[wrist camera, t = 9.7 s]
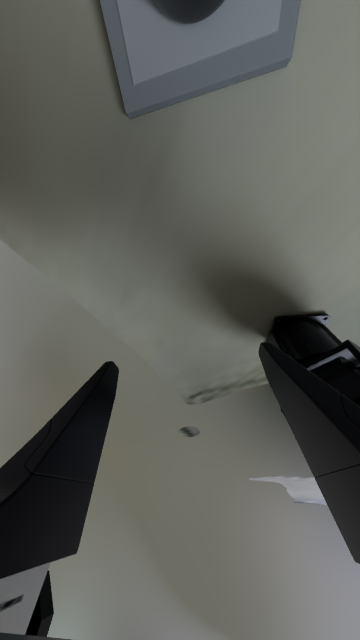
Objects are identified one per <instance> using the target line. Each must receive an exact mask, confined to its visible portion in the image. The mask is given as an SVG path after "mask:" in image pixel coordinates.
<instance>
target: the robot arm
mask: <svg viewBox="0 0 360 640" xmlns="http://www.w3.org/2000/svg"><path fill="white" fill-rule="evenodd" d="M329 319H330V316H329V315H328V314H314V315H296V316H279V317H276V318H275V319H274V323H273V327H272V330H271V331H270V333H269V337H268V341H267V342H262V343H261V344H260V347H259V357H260V360H261V362H262V365H263V368H264V371H265V374H266V377H267V379H268V382H269V384H270V386H271V388H272V390H273V392H274V394H275V397H276V398H277V401H278V403H279V405H280V407H281V411H282V413H283V414H284V416H285V417H286V419H287V421H288V424H289V426H290V428H291V430H292V432H293V434H294V435H295V438H296V440H297V442H298V444H299V446H300V448H301V451H302V453H303V455H304V457H305V459H306V461H307V463H308V465H309V467H310V469H311V471H312V473H313V475H314V477H315V480H316V482H317V484H318V486H319V488H320V490H321V492H322V494H323V496H324V499H325V501H326V503H327V505H328V507H329V509H330V511H331V513H332V515H333V517H334V519H335V521H336V524H337V525H338V528H339V530H340V532H341V534H342V536H343V538H344V540H345V542H346V544H347V546H348V548H349V551H350V553H351V555H352V556H353V558H354V560H355V562H357V563H359V564H360V347H359V346H357V345H356V344H354V343H353V342H351V341H349V340H346V341H344V342H343V343H342V342H341V341H340V340H339V339H338V338H337V337H336V336H335V335H334V334H333V333H332V332H331V331H330V330H329V329H328V328H327V327H326V325H327V323H328V321H329ZM278 320H279V321H278ZM118 374H119V369H118V367H117V366H116V365H115V363H114V362H113V361H108V362H105V363H104V364H103V365H102V366H101V367H100V369H98V370H97V371H96V373H95V374H94V375H93V376H92V377H91V378H90V379H89V380H88V381H87V382H86V383H85V384H84V385H83V386H82V387H81V388H80V389H79V390H78V391H77V393H75V394H74V395H73V397H72V398H71V399H70V400H69V401H68V402H67V403H66V404H65V405H64V406H63V407H62V408H61V409H60V410H59V411H58V412H57V413H56V414H55V415H54V416H53V418H51V419H50V420H49V421H48V422H47V424H45V426H44V427H43V428H42V429H41V430H40V431H39V432H38V433H37V434H36V435H35V436H34V437H33V438H32V439H31V440H29V442H27V443H26V444H25V445H24V446H23V447H22V448H21V449H20V450H19V451H18V452H17V453H16V454H15V455H14V456H13V457H12V458H11V459H9V460H8V461H7V462H6V463H5V464H4V465H3V466H2V467H1V468H0V640H70V639H60V638H51V637H50V638H49V637H47V634H48V631H49V627H50V624H51V621H52V617H53V614H54V612H53V601H52V592H51V583H50V575H49V570H48V568H49V565H50V562H53V561H56V560H59V559H62V558H65V557H68V556H71V555H74V554H76V553H77V551H78V547H79V544H80V539H81V536H82V531H83V527H84V523H85V519H86V515H87V511H88V507H89V502H90V499H91V494H92V490H93V486H94V482H95V478H96V473H97V469H98V465H99V461H100V456H101V453H102V449H103V445H104V440H105V436H106V432H107V428H108V424H109V420H110V416H111V412H112V407H113V403H114V399H115V395H116V388H117V381H118Z"/></svg>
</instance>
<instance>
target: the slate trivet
mask: <svg viewBox="0 0 360 640" xmlns="http://www.w3.org/2000/svg"><path fill="white" fill-rule="evenodd" d="M300 1H301V0H225V1H224V2H223V4H222V5H221V6H220V7H219V8H218V9H217V10H216V11H215V12H214V13H213V14H212V15H210V16H209V17H208V18H206V19H204V20H203V21H200V22H198V23H194V24H181V23H178V22H175V21H173V20H172V19H170V18H169V17H167V16H166V15H165V14H164V13H163V12H162V11H161V10H160V9H159V8H158V6H157V5H156V4H155V2H154V1H153V0H100V3H101V7H102V12H103V16H104V20H105V25H106V29H107V33H108V38H109V42H110V46H111V51H112V55H113V59H114V64H115V68H116V72H117V77H118V81H119V85H120V90H121V94H122V98H123V103H124V107H125V111H126V114H127V116H128V117H129V118H133V117H136V116H139V115H142V114H145V113H148V112H151V111H154V110H157V109H160V108H163V107H166V106H169V105H172V104H175V103H178V102H181V101H184V100H187V99H190V98H193V97H196V96H199V95H202V94H205V93H208V92H211V91H214V90H217V89H220V88H223V87H226V86H229V85H232V84H235V83H238V82H241V81H244V80H247V79H250V78H253V77H256V76H259V75H262V74H265V73H268V72H271V71H274V70H277V69H280V68H283V67H286V66H287V64H288V63H289V61H290V59H291V58H292V53H293V47H294V40H295V34H296V27H297V21H298V14H299V8H300Z"/></svg>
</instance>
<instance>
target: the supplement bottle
mask: <svg viewBox="0 0 360 640" xmlns="http://www.w3.org/2000/svg"><path fill="white" fill-rule="evenodd" d="M153 1H154V2H155V4H156V5H157V6H158V8H159V9H160V10H161V11H162V12H163V13H164V14H165V15H166V16H167V17H169V18H170V19H172V20H173V21H175V22H178V23H181V24H194V23H198V22H200V21H203V20H204V19H206V18H208V17H209V16H210V15H212V14H213V13H214V12H215V11H216V10H217V9H218V8H219V7H220V6H221V5H222V4H223V2H224V1H225V0H153Z"/></svg>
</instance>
